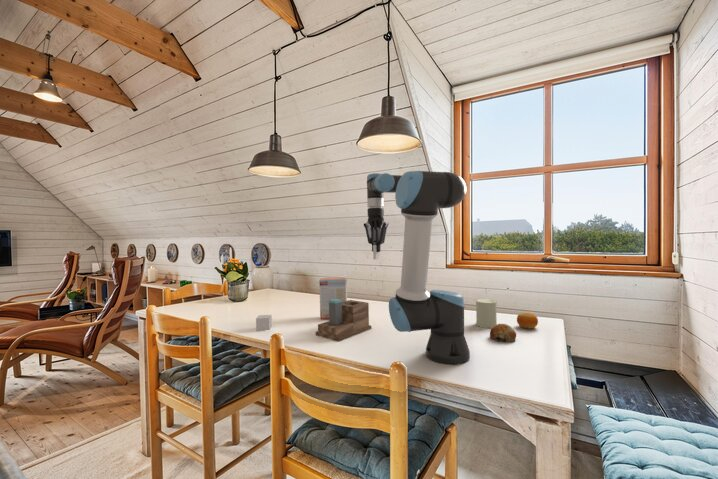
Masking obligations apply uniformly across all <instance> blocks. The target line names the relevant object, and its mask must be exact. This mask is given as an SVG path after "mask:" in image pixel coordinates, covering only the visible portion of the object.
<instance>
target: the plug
mask: <svg viewBox="0 0 718 479" xmlns="http://www.w3.org/2000/svg"><path fill="white" fill-rule="evenodd" d="M328 321H329V325H333V326H338V325H341V324H342V300H341V299H332V300H329V319H328Z"/></svg>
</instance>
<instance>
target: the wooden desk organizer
mask: <svg viewBox="0 0 718 479" xmlns="http://www.w3.org/2000/svg"><path fill="white" fill-rule="evenodd" d="M369 309H370V308H369V302H365V301H360V300H353V299H350V300H347V301H345V302H342V324H341V325H338V326H333V325H329V320H328V321H325V322H322V323H318V324H317V331H315V336H317V337H321V338H324V339H327V340H332V341H335V342H342V341H344V340H347V339H349V338H352V337H355V336H357V335H359V334H362V333H365V332H367V331H369V330H372V329H373V328H372V325H370V316H369V315H370V313H369V311H370V310H369Z"/></svg>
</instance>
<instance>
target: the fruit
mask: <svg viewBox="0 0 718 479" xmlns="http://www.w3.org/2000/svg"><path fill="white" fill-rule="evenodd" d="M516 323H517V324H518V325H519V327H521V328H523V329H535V328H536V327H537V326H538V324H539V320H538V317H537V316H536V314H534V313H530V312H520V313H519V314H517V316H516Z"/></svg>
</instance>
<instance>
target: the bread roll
mask: <svg viewBox="0 0 718 479" xmlns="http://www.w3.org/2000/svg"><path fill="white" fill-rule="evenodd" d="M489 337H490V339H491V340H493V341H495V342H500V343H511V342H512V343H513V342H514V341H516V339H517V332H516V331H515V329H514V328H513V327H512V326H510V325H509V324H507V323H497V325H495V326H494V327H492V328H490V331H489Z"/></svg>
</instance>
